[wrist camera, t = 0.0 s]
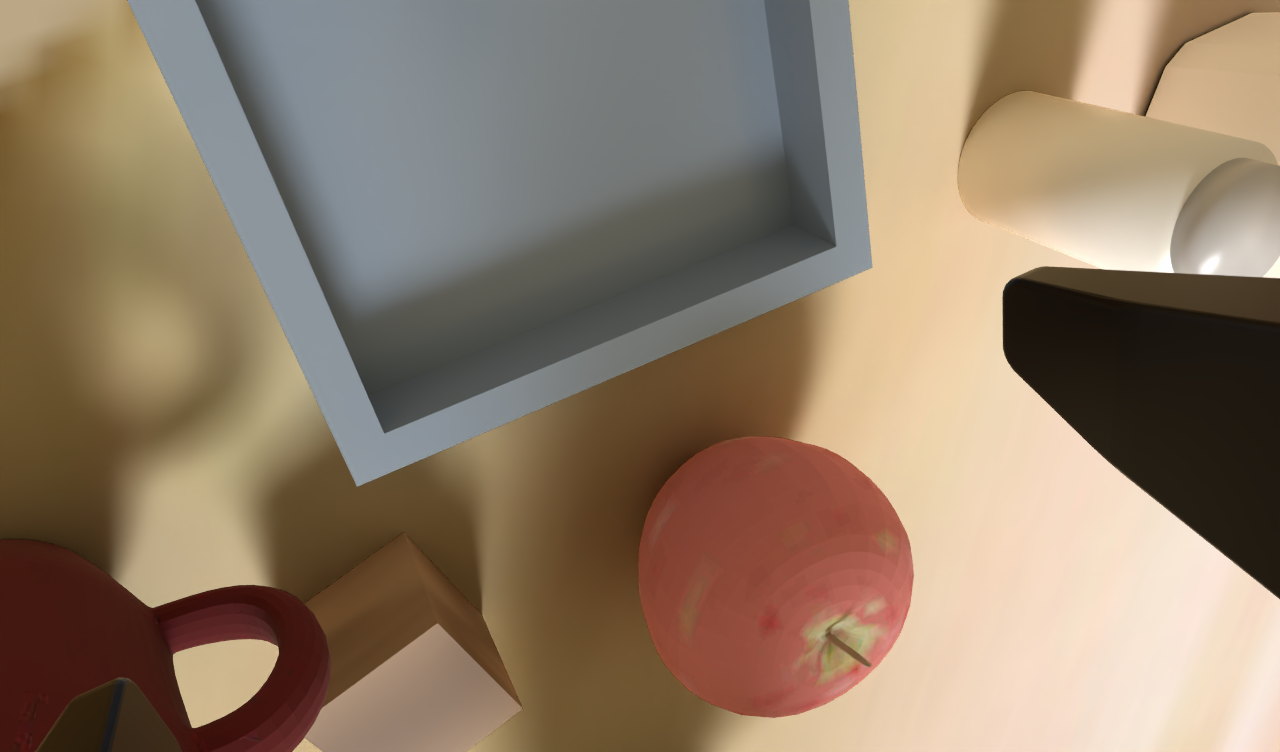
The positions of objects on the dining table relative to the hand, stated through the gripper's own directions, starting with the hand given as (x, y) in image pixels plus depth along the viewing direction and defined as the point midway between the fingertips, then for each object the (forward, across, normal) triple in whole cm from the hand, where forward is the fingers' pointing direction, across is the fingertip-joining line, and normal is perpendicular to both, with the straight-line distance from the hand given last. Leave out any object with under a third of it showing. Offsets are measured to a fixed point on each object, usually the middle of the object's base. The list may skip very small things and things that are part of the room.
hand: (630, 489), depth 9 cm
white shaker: (+15, -18, +6) cm, 24 cm away
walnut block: (+15, +4, +12) cm, 20 cm away
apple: (+15, -6, +13) cm, 21 cm away
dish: (+15, -4, -1) cm, 15 cm away
